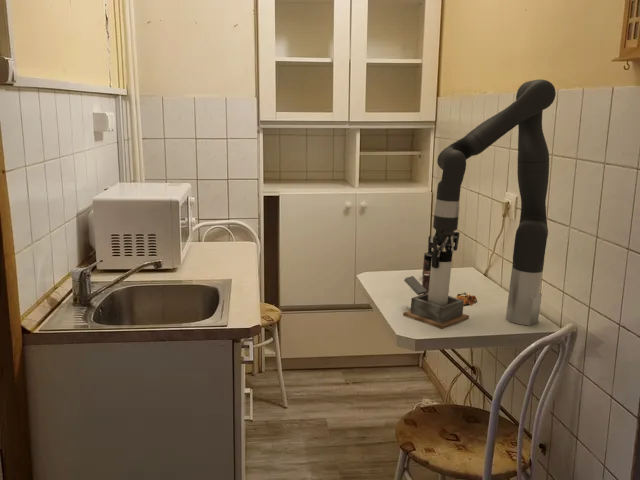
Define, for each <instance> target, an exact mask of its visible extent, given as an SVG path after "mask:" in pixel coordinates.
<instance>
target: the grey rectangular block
mask: <svg viewBox="0 0 640 480" xmlns="http://www.w3.org/2000/svg"><path fill="white" fill-rule="evenodd" d="M403 281H404V283H406V284H407V285H408V286H409V287H410V288H411V290H412V291H413V292H414V293H415V294H416V295H417V296H419V295H422V294H424V293H426V291H427V290H426V289H425V288H424V287H423V286H422V283H421V282H420V281H419V280H418V279H417V278H415V276H414V275H411V276H408V277H405V278H404V280H403Z"/></svg>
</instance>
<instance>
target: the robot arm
mask: <svg viewBox="0 0 640 480" xmlns="http://www.w3.org/2000/svg"><path fill="white" fill-rule="evenodd" d="M556 91H557V90H556V88H555V86H554V85H553V83H552V82H550V80H547V79H534V80H528V81H526V82H523V83H522V84H521V85H520V86H519V88H518V89H517V91H516V96H515V101H513V102H512V103H511V104H510V105H508V106H507V107H505V108H504V109H502V110H501V111H499V112H497V113H496V114H495V115H493V116H490V117H489V118H487V119H486V120H484V121H482V123H480V124H478V125H477V126H476V127H475V128H473V129H472V130H471V131H469V132H468V133H466V134H465V136H463V137H462V138H460V139H458V140H456V141H454V142H453V143H451V144H449V145H448V146H447V147H445V148H444V149H443V150H442V151H440V153H439V154H438V156H437V160H436V162H437V165H438V167H439V169H440V170H442V175H441V179H440V181H439V182H438V183H437V188H436V199H435V203H434V204H435V205H434V211H433V222H432V223H433V224H432V228H433V229H435V230H434V231H435V233H434V235H433V236H432V235H428V242H427V244H428V245H427V246H428V247H427V252H428V254H430V255H432V267H433V268H439V259H440V257H439V256H440V253H441V251H446V252H448V251H449V252H452V254H454V253H455V251H457V250H458V247H459V239H460V232H459V231H457V230H458V226H459V219H460V218H459V217H460V197H461V186H462V183H463V180H464V176H465V174H466V170H467V160H468V159H470V158H471V157H473V156H474V157H475V156H477V155H480V154H482V153H483V152H484V151H485V150H487V149H488V148H489V147H490V146H492V145H493V144H495V143H496V142H497V141H498V140H499V139H501V138H502V137H504V136H505V135H506V134H507V133H509V132H510V131H511V130H513V129H515V128H516V127H517V126H518V132H517V133H518V135H517V136H518V137H517V183H518V189H519V196H520V203H521V204H520V214H519V215H520V216H519V217H520V218H519V222H518V223H519V224H518V227H517V229H516V230H515V237H514V245H513V253H512V266H511V275H510V281H509V282H510V283H509V290H508V296H507V297H508V298H507V305H506V313H505V319H506V320H507V321H508V322H510V323H514V324H516V325H517V324H518V325H522V326H523V325H525V326H529V327H530V326H532V325H534V324H536V323H538V322H539V319H540V318H539V317H540V311H541V304H542V297H543V295H542V293H540V291H541V285H542V284H541V283H542V280H543V279H542V278H543V271H544V266H545V265H544V263H545V255H546V248H547V242H548V236H549V228H548V220H547V206H546V202H547V200H546V199H547V194H548V186H549V178H550V177H549V175H550V152H549V147H548V145H547V141H546V138H545V135H544V130H543V112H544V111H545V110H546V109H548V108H549V107H551V105H552V104H553V103H554V101H555V99H556ZM437 250H438V252H437Z"/></svg>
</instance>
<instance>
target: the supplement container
mask: <svg viewBox="0 0 640 480" xmlns="http://www.w3.org/2000/svg"><path fill="white" fill-rule="evenodd" d="M431 261H432V255H430V254H428V251H427V252H424V253H423V263H422V264H423V265H422V274H421V279H422V280H423V271H431Z"/></svg>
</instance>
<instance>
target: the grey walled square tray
mask: <svg viewBox="0 0 640 480" xmlns="http://www.w3.org/2000/svg"><path fill="white" fill-rule="evenodd" d="M410 302H411V303H410V309H409V310H407V311H404V312H402V313H403V316H404V317H406V318H409V319H413V320H414V321H417V322H421V323H424V324H427V325H429V326H432V327H435V328H438V329H441V330H444V329H446V328H450V327H451V326H454V325H457V324H459V323H461V322H463V321H467V320H468V319H470V315H469V314H467V313H464V312H463V311H464V305H465V304H464V300H461V299H457V298H455V297H453V296H451V295H448V303H447V305H444V306H439V305H436V304H433V303H430V302H428V293H425V294H421V295H417V296H414V297H411V300H410Z"/></svg>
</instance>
